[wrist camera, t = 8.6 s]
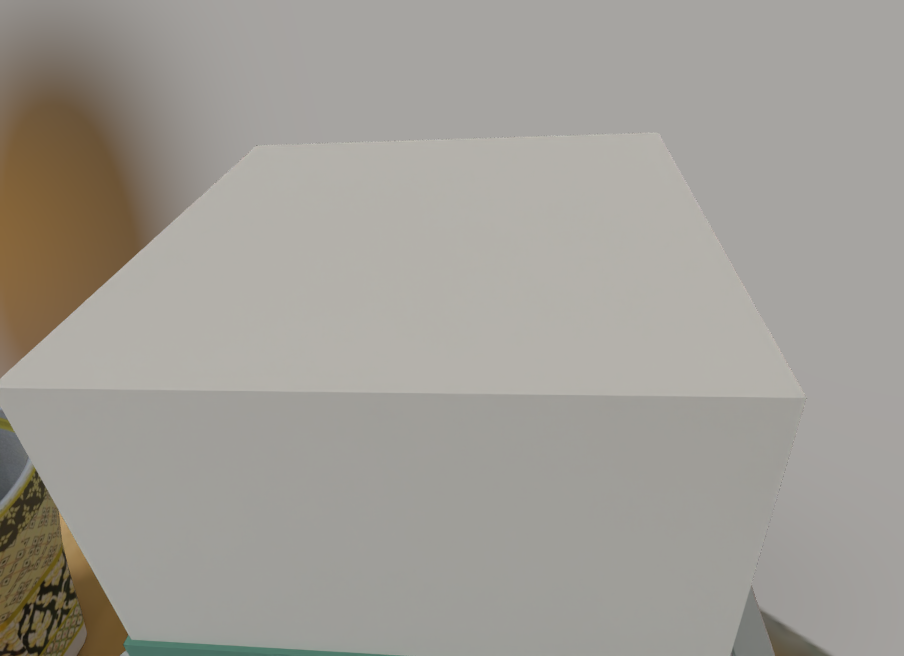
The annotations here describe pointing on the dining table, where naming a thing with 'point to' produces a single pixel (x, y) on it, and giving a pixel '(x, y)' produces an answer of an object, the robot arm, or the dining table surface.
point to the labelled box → (420, 409)
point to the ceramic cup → (33, 562)
